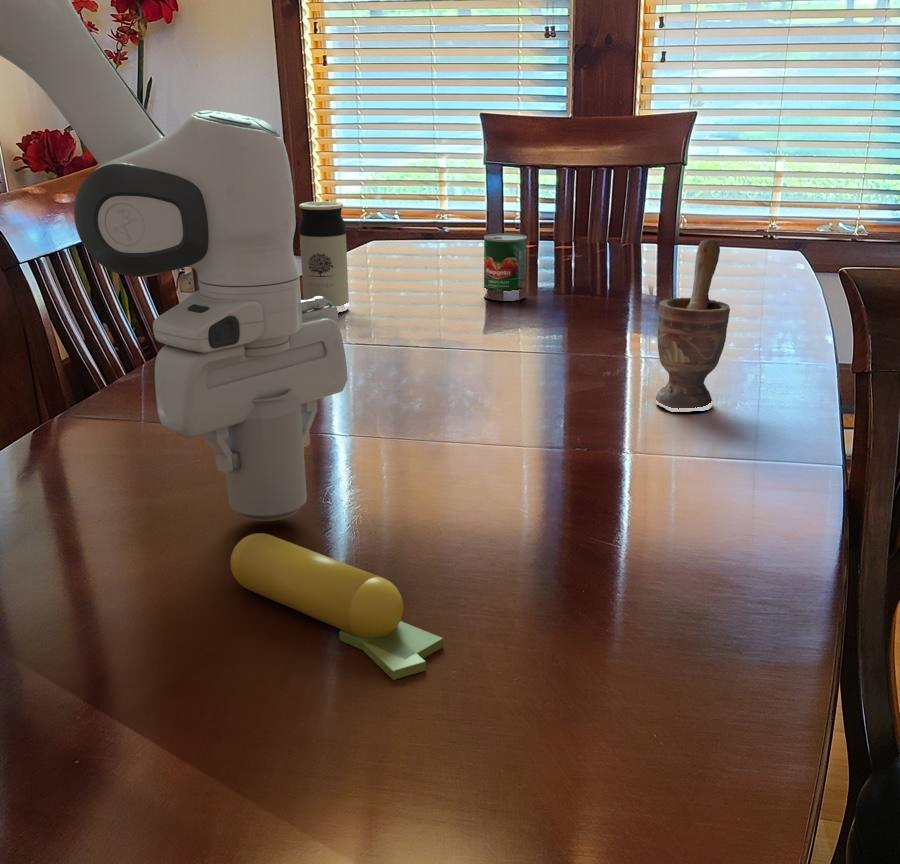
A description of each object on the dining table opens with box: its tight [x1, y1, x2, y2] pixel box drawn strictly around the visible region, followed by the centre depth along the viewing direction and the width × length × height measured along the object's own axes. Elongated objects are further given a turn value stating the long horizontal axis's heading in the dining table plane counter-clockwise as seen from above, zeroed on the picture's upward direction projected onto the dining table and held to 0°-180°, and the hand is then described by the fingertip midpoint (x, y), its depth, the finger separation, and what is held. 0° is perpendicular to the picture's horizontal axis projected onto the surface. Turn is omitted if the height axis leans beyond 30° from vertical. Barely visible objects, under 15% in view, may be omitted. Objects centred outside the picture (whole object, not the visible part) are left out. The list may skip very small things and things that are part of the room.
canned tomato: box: [483, 233, 528, 291], centre depth 199 cm, size 8×8×11 cm
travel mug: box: [298, 201, 350, 307], centre depth 188 cm, size 8×8×18 cm
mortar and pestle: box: [655, 238, 731, 409], centre depth 137 cm, size 12×9×20 cm
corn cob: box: [230, 532, 444, 681], centre depth 86 cm, size 22×6×5 cm, turn 50°
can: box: [224, 389, 308, 522], centre depth 102 cm, size 8×8×12 cm
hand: (264, 458), depth 102 cm, fingers closed on can, 7 cm apart
